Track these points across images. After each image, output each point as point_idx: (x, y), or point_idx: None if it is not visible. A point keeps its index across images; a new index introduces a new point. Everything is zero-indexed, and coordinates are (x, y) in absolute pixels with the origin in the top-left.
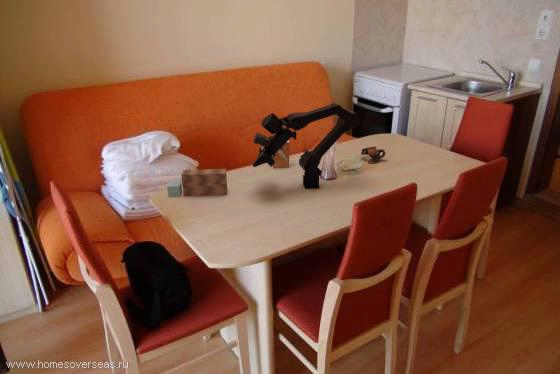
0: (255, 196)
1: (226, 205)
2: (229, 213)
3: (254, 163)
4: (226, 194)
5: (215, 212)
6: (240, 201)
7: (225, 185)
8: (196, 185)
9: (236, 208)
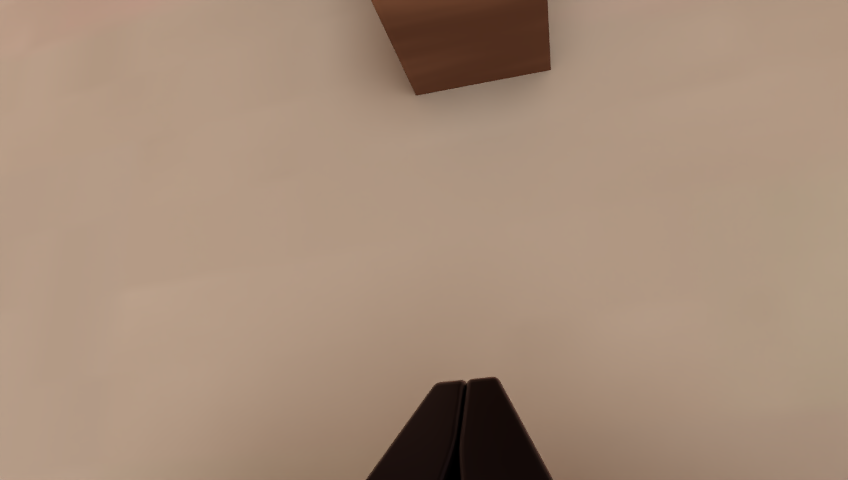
0: (376, 436)
1: (184, 149)
2: (35, 211)
3: (389, 456)
4: (414, 89)
5: (71, 90)
6: (257, 271)
7: (383, 17)
8: None
9: (115, 257)
